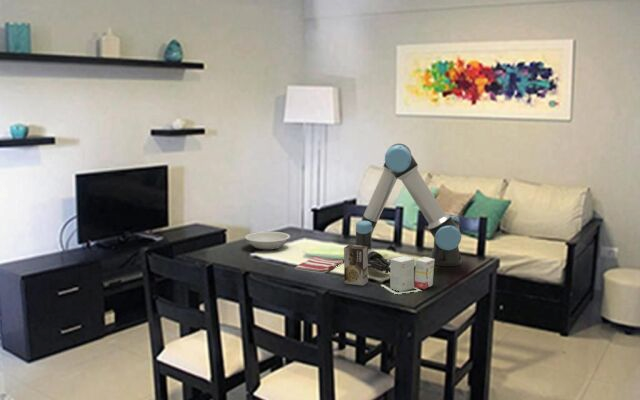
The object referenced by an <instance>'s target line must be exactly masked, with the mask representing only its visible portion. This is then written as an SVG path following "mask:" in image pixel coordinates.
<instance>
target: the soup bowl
mask: <svg viewBox="0 0 640 400" xmlns="http://www.w3.org/2000/svg"><path fill="white" fill-rule="evenodd" d="M290 238H291V235H290V234H288V233H285V232H282V231H258V232H253V233H249V234H245V236H244V239H245V240H247V241H248V242H249V244H250V245H251V246H252V247H254V248H256V249H259V250H275V249H278V248H280V247H282V246H284V245H285V244H286V243H287V240H289V239H290Z"/></svg>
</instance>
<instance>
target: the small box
mask: <svg viewBox="0 0 640 400" xmlns="http://www.w3.org/2000/svg"><path fill="white" fill-rule="evenodd" d="M389 260H390V272H389V274H390V277H389V278H390V280H389V281H390V282H389V285H390V286H389V288H390V289H391V290H392V289H393V291H395V290H396V291H395V292H398V291H399V292H406V291H411V290H415V289H414V280H415V258H413V257H410V256H409V257H408V256H404V255H403V256H399V257H394V258H389Z"/></svg>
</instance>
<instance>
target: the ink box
mask: <svg viewBox="0 0 640 400" xmlns="http://www.w3.org/2000/svg"><path fill="white" fill-rule="evenodd" d="M434 260H435V259H432V258H430V257H427V256H422V257H420V258H417V259H416V260H415V267H414V287H416V288H418V289H420V290H425V289H428V288H430V287H432V286H433V284H434V269H435V265H434Z"/></svg>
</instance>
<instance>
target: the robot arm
mask: <svg viewBox="0 0 640 400" xmlns="http://www.w3.org/2000/svg"><path fill="white" fill-rule="evenodd" d="M418 168H419V164H418V163H417V161H416V160H415V158H414V156H413V155H412V151H411V149H410V148H409V147H408V146H407V145H406V144H402V143H394V144H393V145H391V146H390V147H388V149H387V151H386V152H385V153H384V163H383V171H382V173H381V175H380V178H379V179H378V182H377V185H376V186H375V189H374V190H373V193H372V195H371V198H370V200H369V203H368V205H367V206H366V208H365V211H364V214H363V216H362V218H361V220H359V221H357V222H355V245H361V246H368V269H372V270H376V271H379V272H382V273H384V272H385V274H389V273H390V259H388V260H387V259H386V258H384V256H383V255H382V254H381V253H379V252H377V251H376V250H373V249H372V245H373V244H372V243H373V241H372V240H373V239H372V237H373V233H374V230H375V229H376V226H377V224H378V221H379V219H380V217H381V215H382V212H383V210H384V208H385V207H386V204H387V202H388V200H389V198H390V195H391V193H392V190H393V188H395V187H394V186H395V184H396V183H397V180H399V181H401V182H402V184H403V186H404V187H405V188H406V190H407V192H408V194H409V195H410V196H411V198H412V199H413V201H414V202H415V204H416V206H417V207H418V208H419V209H418V210H420V212H421V213H422V215H423V217H424V219H425V220H426V221H427V223H428V227H427V229H428V230H429V232H430V234H431V236H432V237H433V248H432V250H431V252H430V256H429V258H432V259H435V260H434V266H439V267H457V266H460V265H462V261H463V260H462V255H461V252H460V248H459V245H460V243H461V241H462V233H461V231H460V223H461V222H460V217H458V216H456V215H450V214H447V213H445V212H444V210H443V208H442V207H441V205H440V204H439V202H438V201H437V198H436V197H435V196H434V194H433V192H432V191H431V190H430V188H429V187H428V185H427V183H426V182H425V180H424V179H423V177H422V175H421V174H420V172H419V171H418V170H419V169H418Z"/></svg>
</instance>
